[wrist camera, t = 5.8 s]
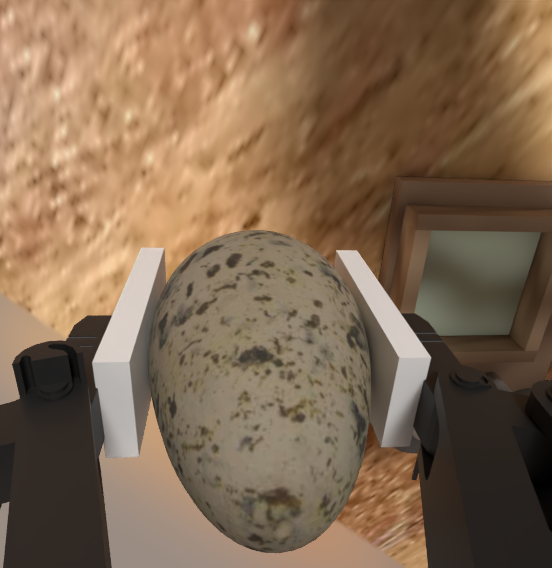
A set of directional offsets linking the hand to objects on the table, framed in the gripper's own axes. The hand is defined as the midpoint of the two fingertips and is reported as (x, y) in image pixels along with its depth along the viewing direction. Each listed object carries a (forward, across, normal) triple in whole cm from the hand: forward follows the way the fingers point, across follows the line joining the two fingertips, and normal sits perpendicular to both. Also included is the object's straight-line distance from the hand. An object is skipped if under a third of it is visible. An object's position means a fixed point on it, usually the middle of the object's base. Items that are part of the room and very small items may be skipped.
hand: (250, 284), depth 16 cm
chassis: (+14, +18, -9) cm, 25 cm away
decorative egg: (+1, 0, 0) cm, 1 cm away
